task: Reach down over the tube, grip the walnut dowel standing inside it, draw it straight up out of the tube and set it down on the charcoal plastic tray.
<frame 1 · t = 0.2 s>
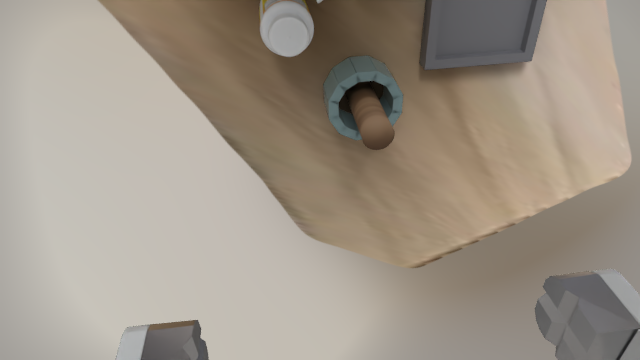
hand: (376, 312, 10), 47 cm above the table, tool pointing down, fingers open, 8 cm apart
tube: (358, 90, 59), on the table
tray: (481, 3, 54), on the table
dowel: (367, 110, 54), in the tube
supplement bottle: (283, 8, 52), on the table
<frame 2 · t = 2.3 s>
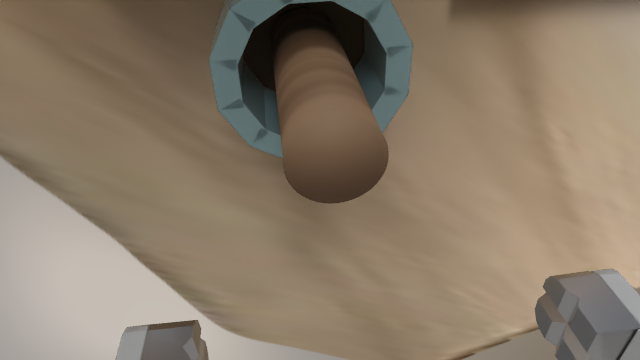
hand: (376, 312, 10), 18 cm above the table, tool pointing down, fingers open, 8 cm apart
tube: (303, 41, 25), on the table
dowel: (316, 87, 20), in the tube
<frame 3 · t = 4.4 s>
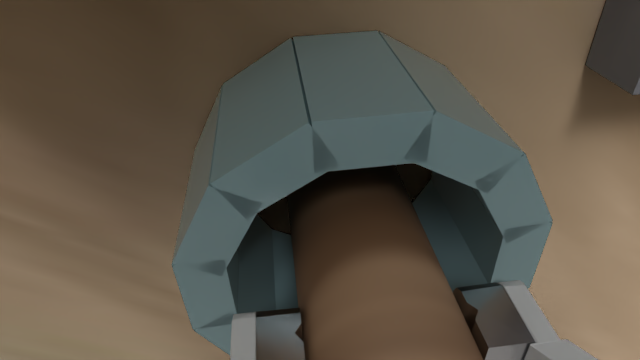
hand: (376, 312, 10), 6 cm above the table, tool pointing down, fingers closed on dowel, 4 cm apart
tube: (337, 167, 15), on the table
dowel: (375, 309, 11), in the tube, touching gripper
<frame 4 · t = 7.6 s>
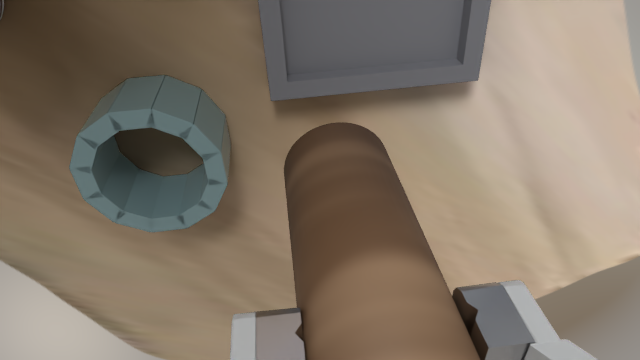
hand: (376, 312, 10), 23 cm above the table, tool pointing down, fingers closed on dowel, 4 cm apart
tube: (164, 136, 32), on the table
dowel: (374, 311, 11), point 23 cm above the table, touching gripper
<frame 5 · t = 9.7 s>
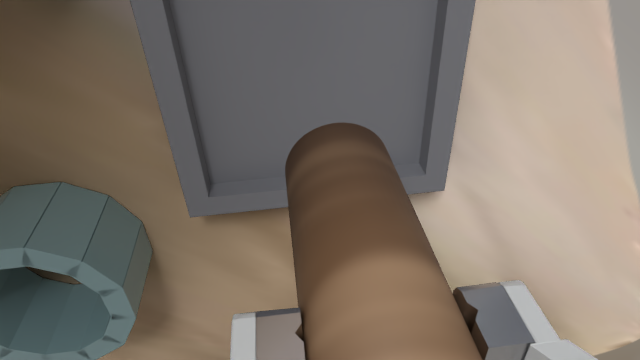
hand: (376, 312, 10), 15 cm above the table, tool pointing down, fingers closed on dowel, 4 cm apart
tube: (69, 245, 27), on the table
tray: (309, 65, 22), on the table
dowel: (375, 311, 11), point 14 cm above the table, touching gripper
when the fingers open (8 cm above the table, at t = 11.3 s): dowel stays where it is, resting on tray.
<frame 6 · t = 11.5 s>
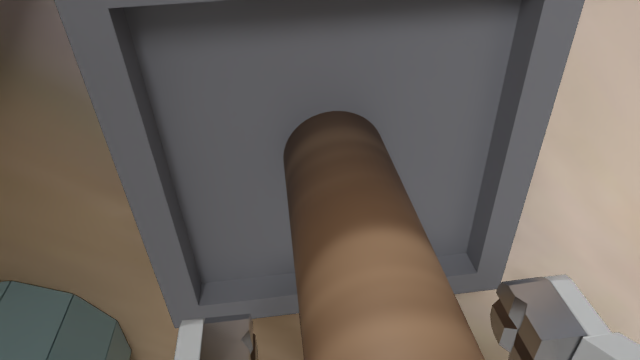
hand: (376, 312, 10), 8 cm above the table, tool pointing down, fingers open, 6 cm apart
tube: (26, 348, 22), on the table
tray: (330, 141, 17), on the table
dowel: (369, 284, 11), in the tray, point 7 cm above the table
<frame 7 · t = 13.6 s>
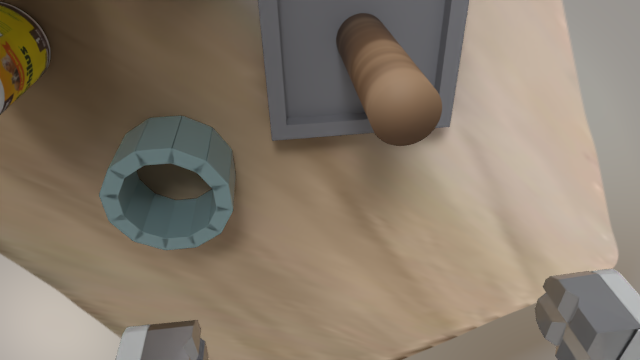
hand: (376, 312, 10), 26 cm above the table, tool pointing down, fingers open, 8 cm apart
tube: (178, 166, 37), on the table
tray: (359, 34, 33), on the table
dowel: (379, 69, 27), in the tray, point 7 cm above the table
supplement bottle: (10, 40, 31), on the table
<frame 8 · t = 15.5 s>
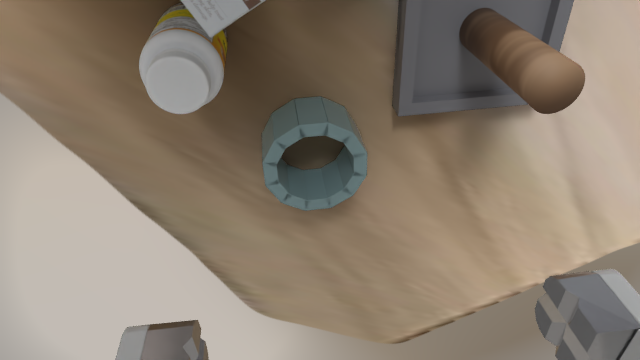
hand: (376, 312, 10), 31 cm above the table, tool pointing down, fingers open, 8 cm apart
tube: (310, 140, 44), on the table
tray: (475, 25, 39), on the table
dowel: (512, 54, 33), in the tray, point 7 cm above the table
supplement bottle: (194, 34, 37), on the table
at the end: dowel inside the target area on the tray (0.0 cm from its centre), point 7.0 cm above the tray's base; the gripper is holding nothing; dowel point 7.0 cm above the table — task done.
